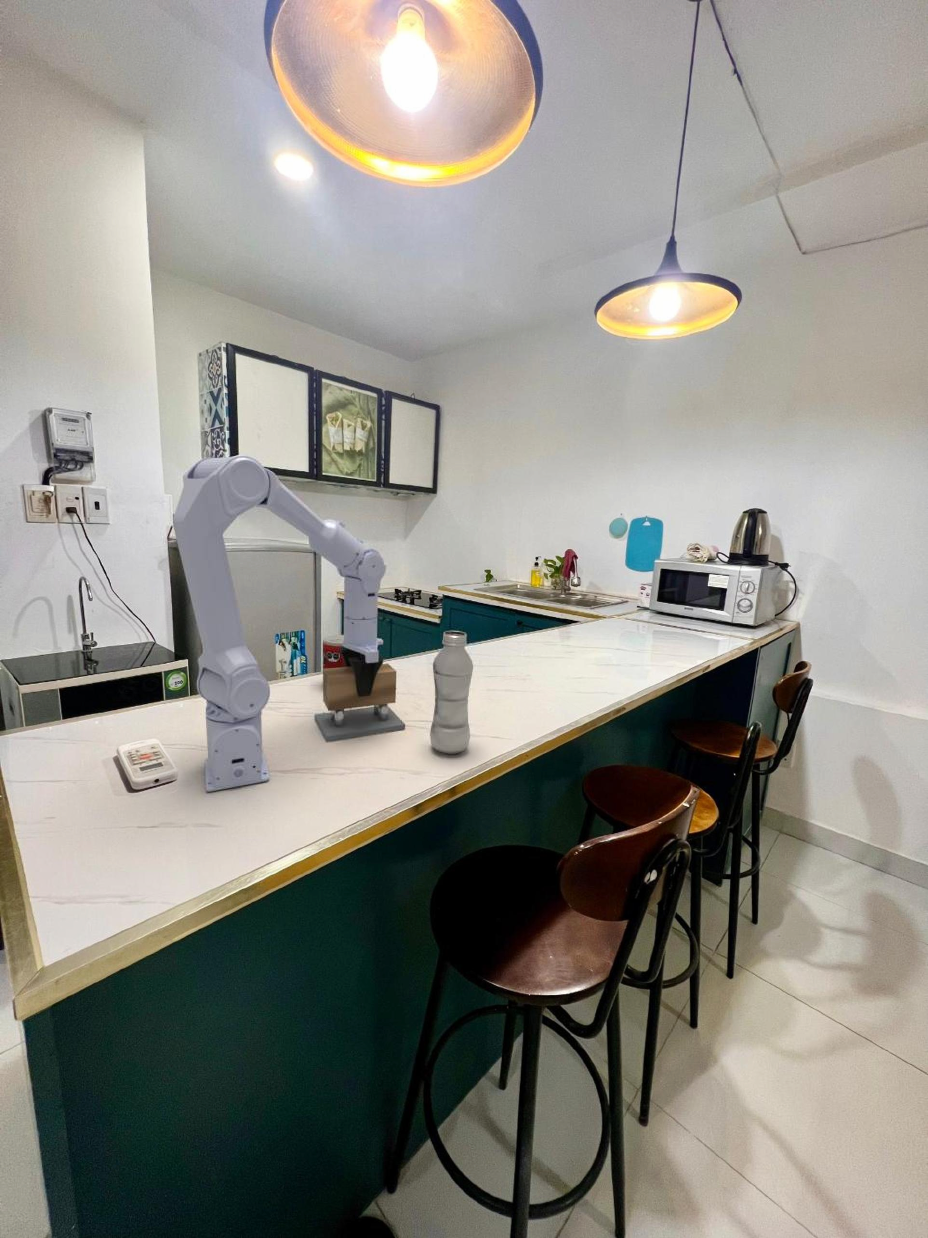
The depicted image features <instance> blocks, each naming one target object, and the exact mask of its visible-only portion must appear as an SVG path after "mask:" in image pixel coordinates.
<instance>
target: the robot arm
mask: <svg viewBox="0 0 928 1238" xmlns="http://www.w3.org/2000/svg"><path fill="white" fill-rule="evenodd" d="M182 481H183V487H182V489H181V493H180V496H179V500H178V503H177V505H176V508H175V512H174V515H173V516H172V517H173V518H172V524H173V525H172V526H173V530H174V535H175V537H176V538H175V539H176V542H177V546H178V551H179V555H180V559H181V563H182V568H183V572H184V576H185V579H186V583H187V587H188V592H189V596H190V597H189V598H190V601H191V605H192V609H193V612H194V617H195V621H196V625H197V630H198V633H199V637H200V642H201V647H202V650H203V651H202V653H201V655H200V656H199V657H198V659H197V663H198V669H199V671H198V676H197V680H196V689H197V692H198V694H199V696H200V697H201V698H202V699H204V700H205V701H206V707H205V724H206V725H205V726H206V729H205V730H206V741H207V742H206V745H207V757H206V758H205V760H204V761H205V762H204V764H205V767H204V768H205V791H206V792H214V791H219V790H224V789H231V788H235V787H241V786H246V785H251V784H257V783H261V782H262V783H263V782H267V781H270V774H269V773H270V772H269V769H268V765H267V762H266V761H267V760H266V758H265V754H264V750H263V730H262V729H263V728H262V727H263V724H262V714H263V711H264V708H265V707H266V706H267V704H268V702H269V701H270V696H271V689H270V688H271V687H270V684H269V682H268V680H267V679H266V678H265V677H264V676H263V674H262V673H261V671H260V667H259V663H258V661H257V659H255V657H254V655H253V654H252V652H251V651H250V649H249V648H248V647H247V643H246V639H245V634H244V629H243V624H242V621H241V615H240V610H239V607H238V600H237V597H236V591H235V586H234V582H233V577H232V573H231V568H230V562H229V558H228V553H227V549H226V544H225V539H224V533H225V532H226V531H227V529H228V528H229V527H230V526H231V525H232V523H233V522H234V521H235V520H236V519H237V518H238V517H239V516H240V515H242V514H244V513H246V512H248V511H249V510H251V509H253V508H255V507H257V508H265V509H267V510H268V511H269V512H271V513H273V514H274V515H275V516H276V517H278V518H281V520H283V521H285V522H286V523H287V524H289V525H291V526H292V527H293V528H295V529H296V530H298V531H299V532H300V533H302V534H304V535H305V536H307V537H308V545H309V547H310V549H312V551H314V552H315V553H317V554H318V555H319V556H320V557H322V558H323V559H325V560H326V561H328V562H329V563H331V564H332V565H334V567H336V570H337V572H338V573H337V574H339V576H340V577H342V578H343V580H344V581H343V582H344V583H343V584H344V586H343V589H344V590H343V600H344V601H343V635H344V639H343V646H344V647H341V648H339V652H340V654H341V656H342V658H343V661H344V664H345V667H352V668H353V671H354V675H355V681H356V689H357V693H358V696H359V697H363V696H370V695H371V692H372V688H373V684H374V680H375V677H376V674H377V672H378V670H379V668H380V667H381V665H382V664H384V659H383V658H382V657H381V656H379V654H380V653H379V652H380V651H379V650H378V647H379V645H384V640H383V639H382V638H378V609H379V608H378V599H379V595H378V594H379V591H380V589H381V582H382V579H383V577H384V576H385V574H386V570H387V565H386V564H385V562H384V559H383V558H384V557H382V555H381V554H380V552H379V551H377V549H373V548H366V546H365V544H364V541H363V540H362V539H361V538H356V537H355V536H354V535H353V534H351V533H350V532H349V531H348V530H346V529H345V527H346V524H345V523H343V521H341V520H335V519H331V518H330V519H325V520H322V518H321V517H319V515H317V514H316V513H315V512H314V511H313V510H312V509H311V508H310V507H309V506H308V505H306V504H305V503H304V502H303V501H302V500H301V499H300V498H298V497H297V495H295V494H294V493H293V492H292V491H291V490H290V489H289V488H288V487H287V486H286V485H284V484H283V483H282V482H281V481H280V479H279V478H278V476H277V475H276V473H275V472H273V471H271V470H270V469H268V468H265V467H264V466H263V464H262V463H261V462H259V460H257V459H256V458H254V457H252V456H248V455H246V454H245V455H244V454H238V455H235V456H229V457H228V456H227V457H224V456H223V457H211V456H210V457H204V458H201V459H199V460H198V461H196V462H195V463H194V464H193V465H192V466H191V467H190V468H189V469H188V470H187V471H186V472H185V473H184V474H182Z"/></svg>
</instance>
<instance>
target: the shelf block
mask: <svg viewBox="0 0 928 1238" xmlns="http://www.w3.org/2000/svg"><path fill="white" fill-rule="evenodd" d="M396 695H397V670H396V669H395V668H393V667H392V665H390V664H389V663H383V664H382V665H381V667H380V668H379V670H378V672H377V674H376V677H375V680H374V684H373V688H372V692H371V695H370V696H363V697H359V696H358V693H357V689H356V681H355V675H354V671H353V668H352V667H340V668H329V669H323V668H322V701H323V704H324V706H325V707H326V709H327V710H328V712H331V711H333V710H341V709H344V710H350V709H358V708H366V707H374V705H381V704H395V703H396V702H397V701H396V699H397V698H396V697H397V696H396Z"/></svg>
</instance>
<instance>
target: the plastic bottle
mask: <svg viewBox="0 0 928 1238" xmlns="http://www.w3.org/2000/svg"><path fill="white" fill-rule="evenodd" d="M467 636H468V635H467V633H466V632H464V631H459V630H447V631H444V632H443V636H442V643H441V644H442V645H443V647H442V648H441V649H440V651H438V653H437V655H436V656H435V657H434V659H433V662H432V673H433V682H434V709H433V717H432V722H431V726H430V731H429V739H430V744H431V745H432V747H433V749H434V750H436V751H437V752H439V753H443V754H450V755H452V754H459V753H462V752H464V751H465V750H466V748H468V746H469V744H470V740H471V739H470V738H471V732H470V731H471V730H470V729H471V728H470V724H469V696H470V695H469V694H470V686H471V681H472V677H473V672H474V664H473V660H472V658H471V656H470V654H469V653H468V651H467V650H466V649H465V648H466V646H467V644H468V643H467Z"/></svg>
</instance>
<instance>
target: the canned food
mask: <svg viewBox="0 0 928 1238" xmlns="http://www.w3.org/2000/svg"><path fill="white" fill-rule="evenodd" d="M343 639H344V634H335V635H328V636H325V637H323V638H322V670H323V669H329V668H340V667H345V664H344V661H343V658H342V656H341V654H340V652H339V648H341V647H344V646H343Z"/></svg>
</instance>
